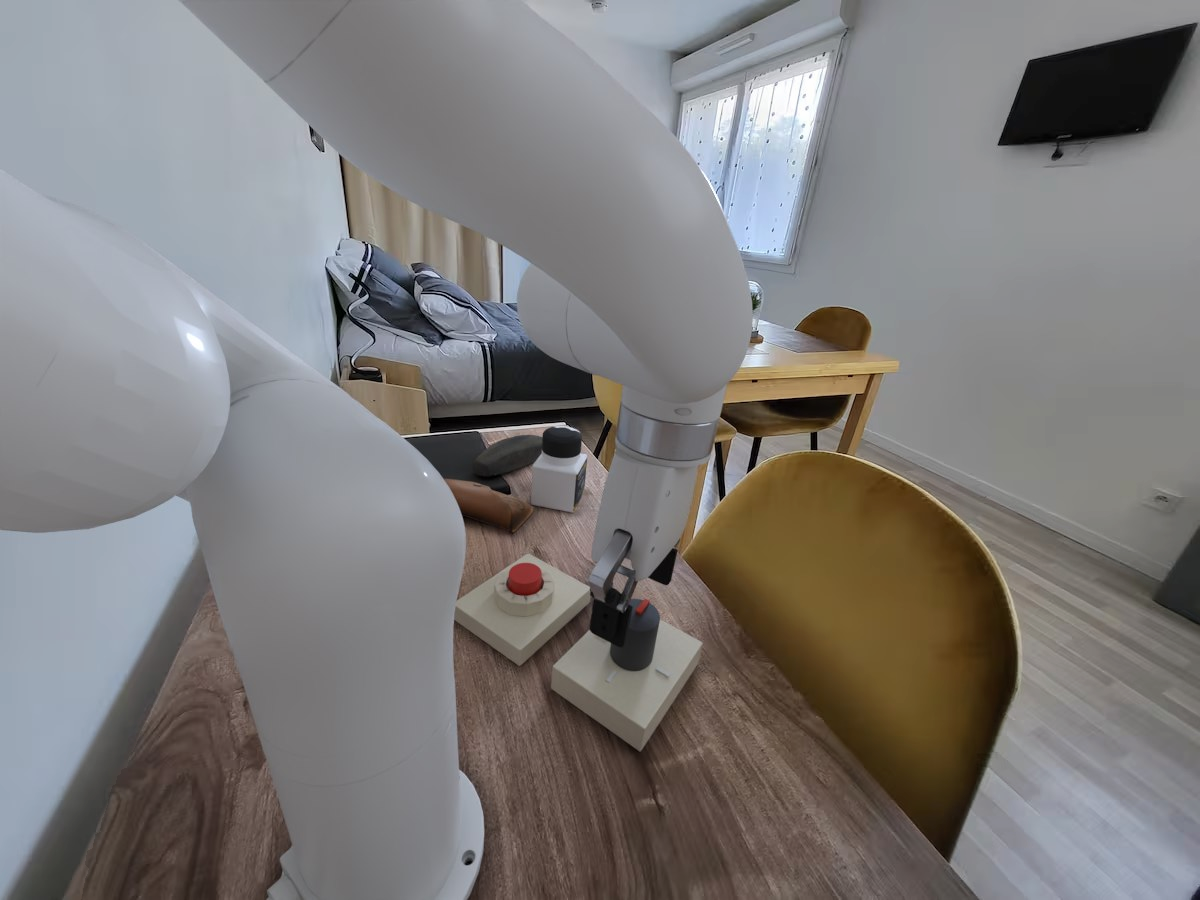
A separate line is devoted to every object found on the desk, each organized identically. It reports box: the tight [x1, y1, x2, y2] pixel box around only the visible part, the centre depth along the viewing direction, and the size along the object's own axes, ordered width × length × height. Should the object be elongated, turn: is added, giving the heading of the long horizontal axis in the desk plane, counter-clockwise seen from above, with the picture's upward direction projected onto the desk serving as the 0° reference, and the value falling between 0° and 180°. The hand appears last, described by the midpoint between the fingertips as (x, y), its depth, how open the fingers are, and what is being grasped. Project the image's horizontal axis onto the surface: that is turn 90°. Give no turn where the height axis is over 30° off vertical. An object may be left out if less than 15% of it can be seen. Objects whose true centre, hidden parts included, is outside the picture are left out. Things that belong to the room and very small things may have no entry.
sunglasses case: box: [443, 478, 535, 534], centre depth 73 cm, size 18×7×7 cm, turn 71°
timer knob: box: [610, 597, 661, 671], centre depth 46 cm, size 4×4×5 cm
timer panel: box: [550, 619, 704, 752], centre depth 48 cm, size 12×10×3 cm
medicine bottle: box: [530, 425, 588, 514], centre depth 76 cm, size 7×7×12 cm
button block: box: [454, 552, 592, 667], centre depth 54 cm, size 12×10×4 cm
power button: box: [508, 563, 542, 596], centre depth 53 cm, size 4×4×2 cm
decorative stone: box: [472, 434, 542, 478], centre depth 88 cm, size 17×6×4 cm, turn 151°
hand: (632, 605), depth 44 cm, fingers open, 9 cm apart
